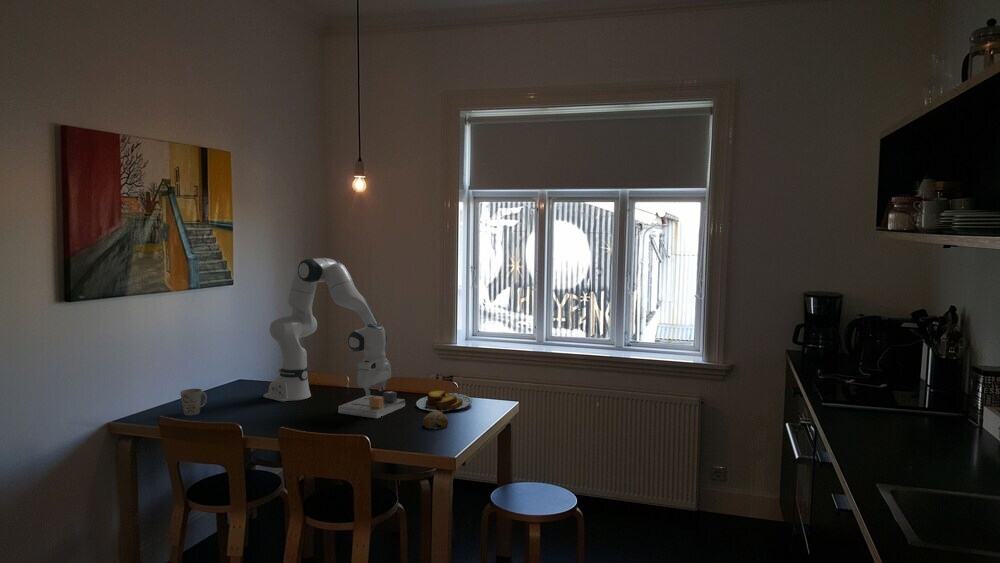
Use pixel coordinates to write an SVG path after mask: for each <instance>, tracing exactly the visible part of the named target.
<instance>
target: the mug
mask: <svg viewBox="0 0 1000 563" xmlns="http://www.w3.org/2000/svg"><path fill="white" fill-rule="evenodd" d="M202 396H203V397H204V401H203V403H202ZM180 399H181V404H182V409H183V414H184V416H196V415H199V414H200V413H201V412H200V411H201V408H203V407H204V406H206V404H207V401H208V396H207V393H206V392H205V391H203V390H202V389H200V388H187V389H183V390H181V391H180ZM201 403H202V404H201Z"/></svg>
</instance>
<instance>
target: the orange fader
mask: <svg viewBox="0 0 1000 563" xmlns="http://www.w3.org/2000/svg"><path fill="white" fill-rule="evenodd" d="M369 404H370V407H376V408H380V407H383V396H381V397H379V395H373V396H372V397H370V398H369Z"/></svg>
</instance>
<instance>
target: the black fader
mask: <svg viewBox="0 0 1000 563" xmlns="http://www.w3.org/2000/svg"><path fill="white" fill-rule="evenodd" d="M382 394H383V396H382V397H383V401H384V402H392V403H393V402H396V401H397V399H398V398H397V396H398V393H397V391H390V390H389V391H388V390H387V391H384V392H383V393H382Z"/></svg>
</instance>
